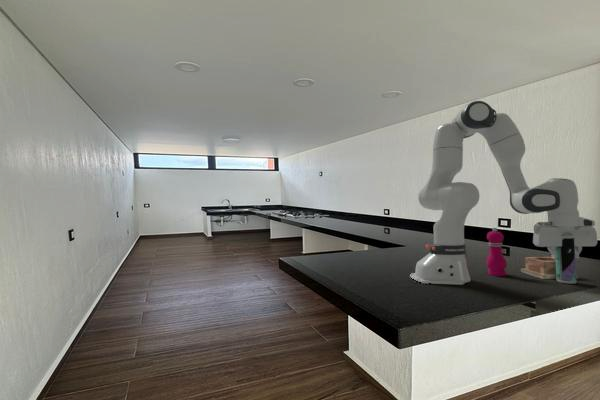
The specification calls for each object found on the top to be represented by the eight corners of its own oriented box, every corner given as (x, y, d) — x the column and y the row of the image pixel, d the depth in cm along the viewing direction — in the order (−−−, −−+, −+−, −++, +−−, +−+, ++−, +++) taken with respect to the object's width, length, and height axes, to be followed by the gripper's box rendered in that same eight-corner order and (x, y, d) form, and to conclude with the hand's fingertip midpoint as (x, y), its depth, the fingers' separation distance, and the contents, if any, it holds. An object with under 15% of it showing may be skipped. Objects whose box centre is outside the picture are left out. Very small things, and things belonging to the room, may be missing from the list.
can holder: (543, 278, 115) (542, 262, 115) (520, 271, 128) (520, 256, 128) (578, 278, 114) (577, 261, 114) (552, 271, 127) (551, 256, 127)
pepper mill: (501, 272, 128) (498, 226, 128) (511, 276, 121) (508, 227, 121) (483, 272, 128) (481, 227, 129) (492, 276, 121) (490, 228, 122)
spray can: (572, 284, 106) (569, 228, 106) (553, 281, 110) (550, 228, 111) (579, 282, 108) (576, 227, 108) (561, 279, 113) (558, 227, 113)
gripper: (539, 222, 108) (541, 260, 107) (600, 221, 106) (602, 259, 105) (528, 221, 114) (529, 257, 113) (584, 220, 112) (586, 257, 112)
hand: (565, 258), depth 109 cm, fingers closed on spray can, 5 cm apart
